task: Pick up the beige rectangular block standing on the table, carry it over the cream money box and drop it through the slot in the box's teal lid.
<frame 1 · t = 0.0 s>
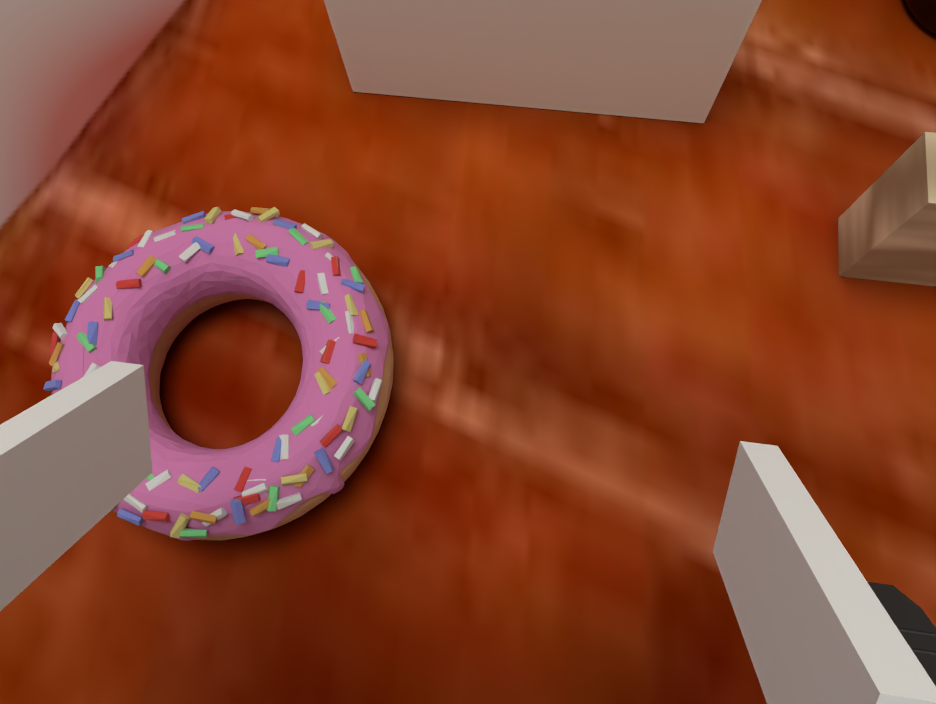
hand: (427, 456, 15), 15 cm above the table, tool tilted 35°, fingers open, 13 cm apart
money box: (536, 18, 37), on the table
beige rectangular block: (893, 252, 32), on the table
donut: (250, 384, 32), on the table
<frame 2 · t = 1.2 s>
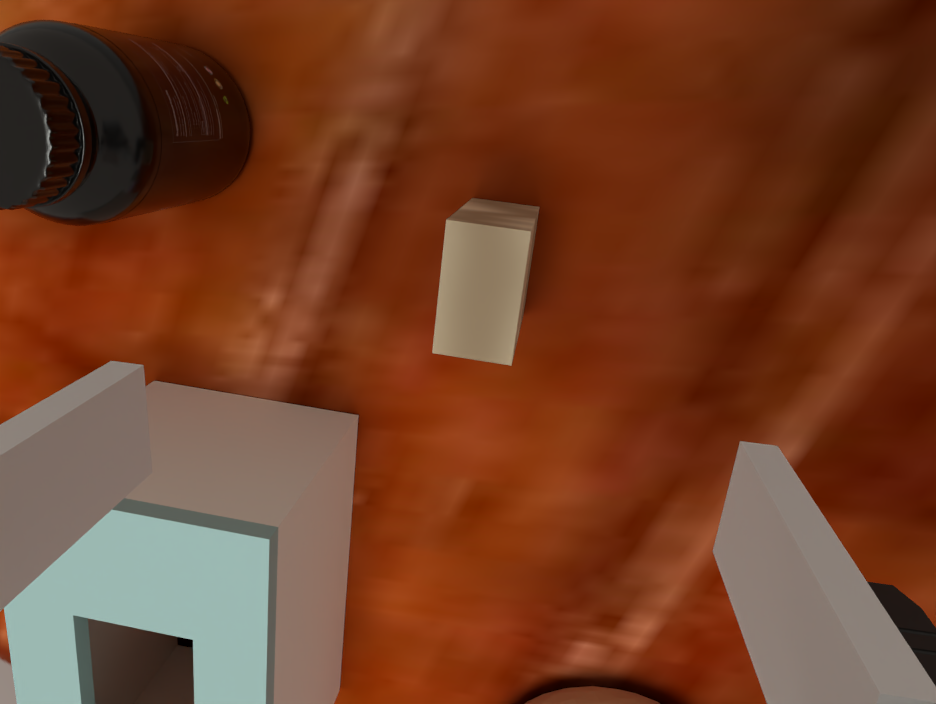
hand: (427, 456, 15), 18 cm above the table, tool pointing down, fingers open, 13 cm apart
money box: (253, 544, 39), on the table
beige rectangular block: (498, 257, 31), on the table
supplement bottle: (187, 125, 32), on the table
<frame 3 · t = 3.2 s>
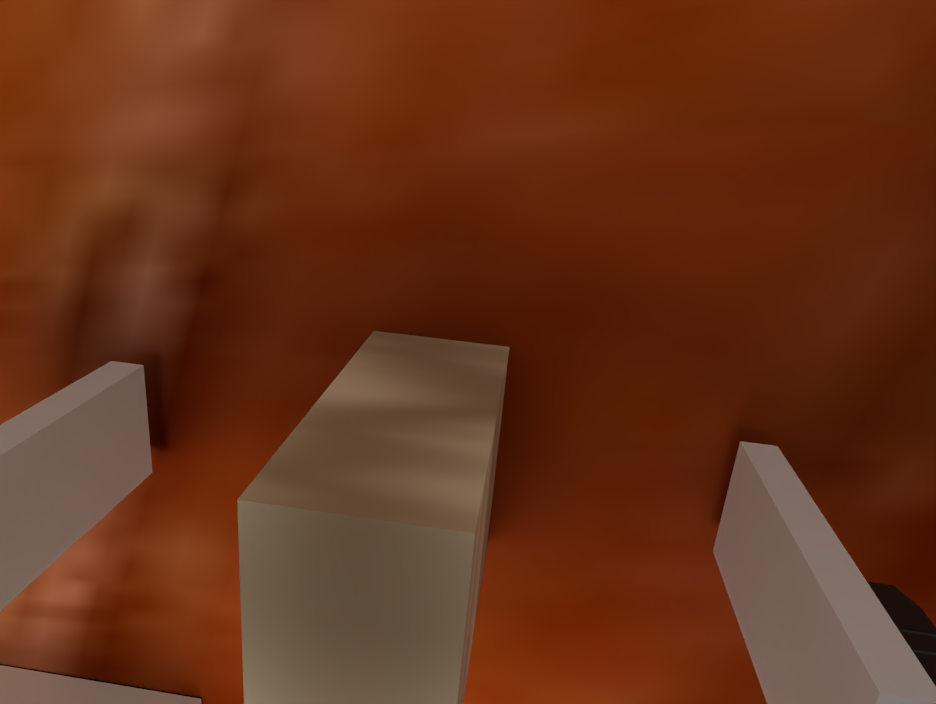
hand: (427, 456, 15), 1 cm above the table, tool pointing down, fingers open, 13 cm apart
beige rectangular block: (433, 440, 16), on the table
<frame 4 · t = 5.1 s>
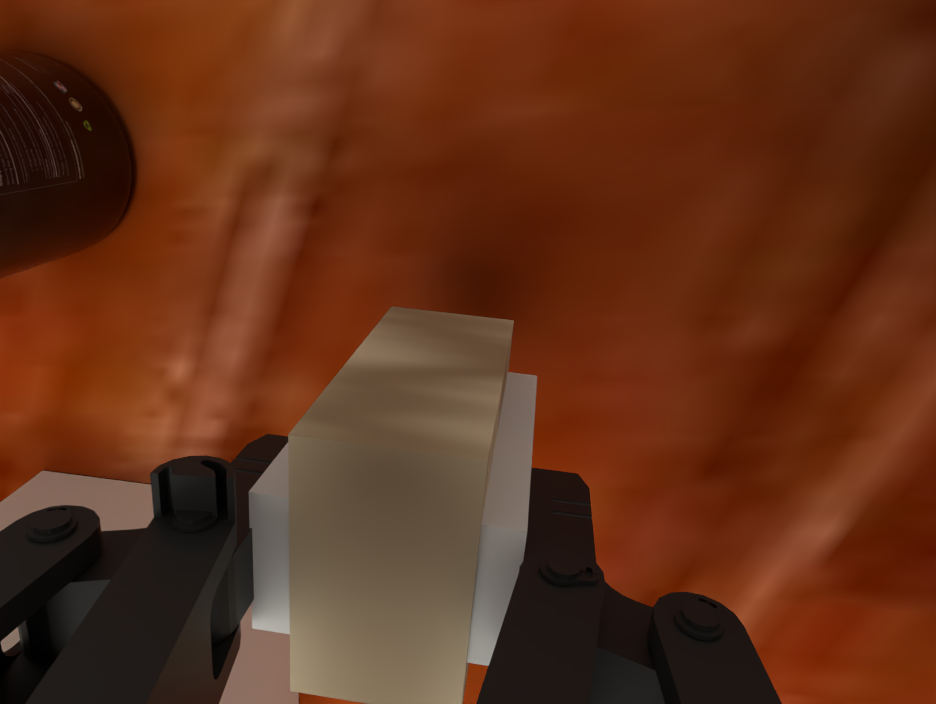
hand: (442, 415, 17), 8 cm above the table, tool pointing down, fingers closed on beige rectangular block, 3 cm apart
money box: (182, 655, 32), on the table
beige rectangular block: (444, 406, 18), point 8 cm above the table, touching gripper
supplement bottle: (52, 155, 25), on the table
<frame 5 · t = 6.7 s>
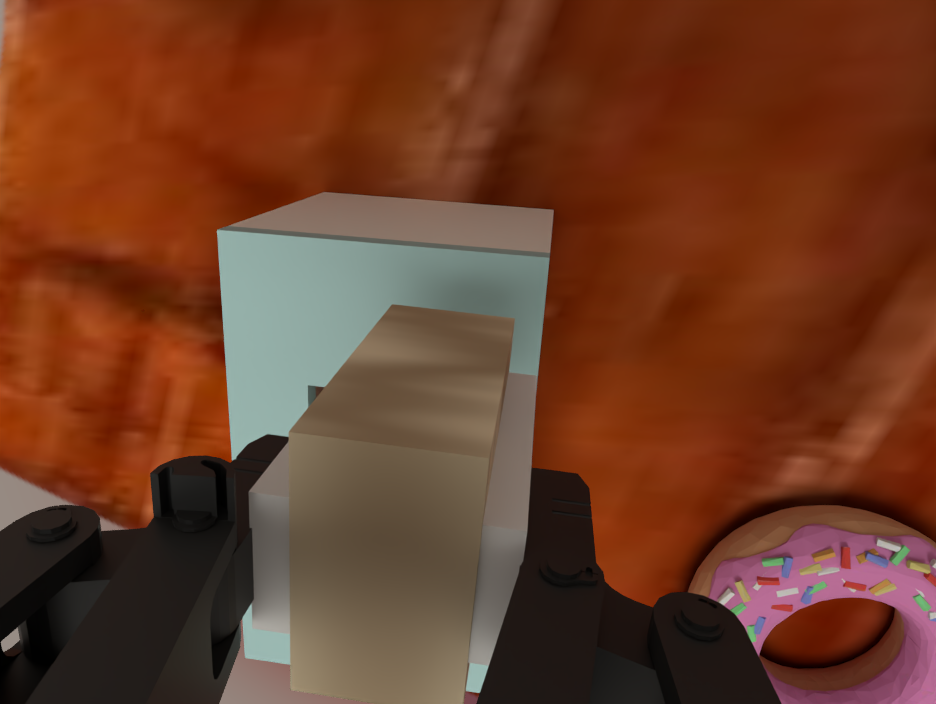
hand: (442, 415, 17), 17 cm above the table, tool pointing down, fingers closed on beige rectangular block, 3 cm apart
money box: (429, 377, 36), on the table
beige rectangular block: (445, 405, 18), point 17 cm above the table, touching gripper
donut: (811, 601, 38), on the table
when the fingers open (13 cm above the table, at t = 8.5 s): beige rectangular block drops 13 cm, resting in money box.
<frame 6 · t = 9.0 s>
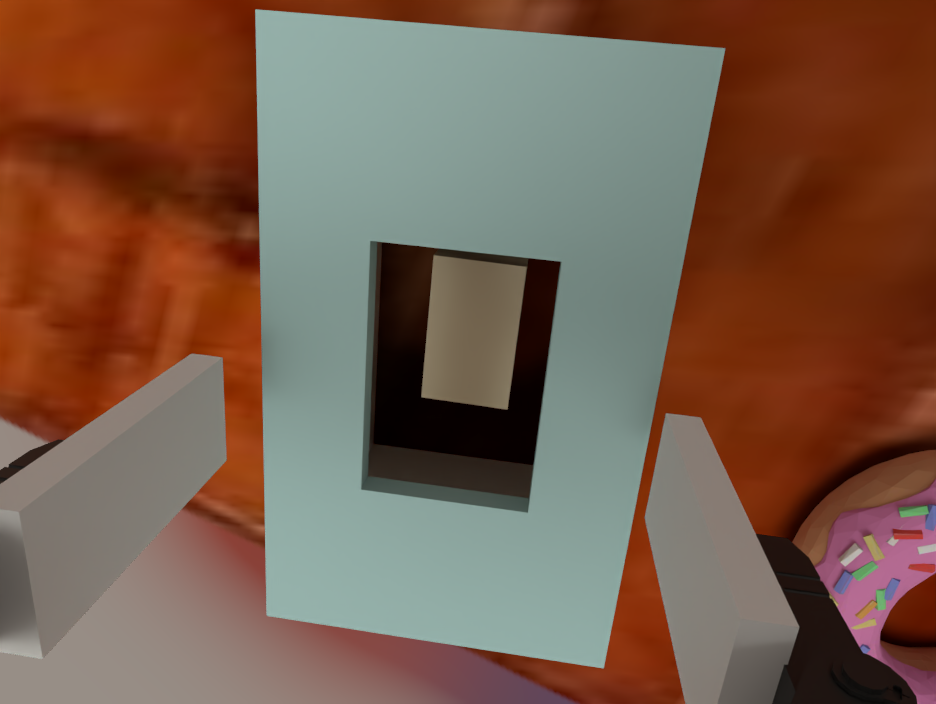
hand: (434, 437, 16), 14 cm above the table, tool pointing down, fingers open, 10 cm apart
money box: (488, 287, 29), on the table
beige rectangular block: (489, 284, 29), resting in money box
donut: (928, 567, 32), on the table
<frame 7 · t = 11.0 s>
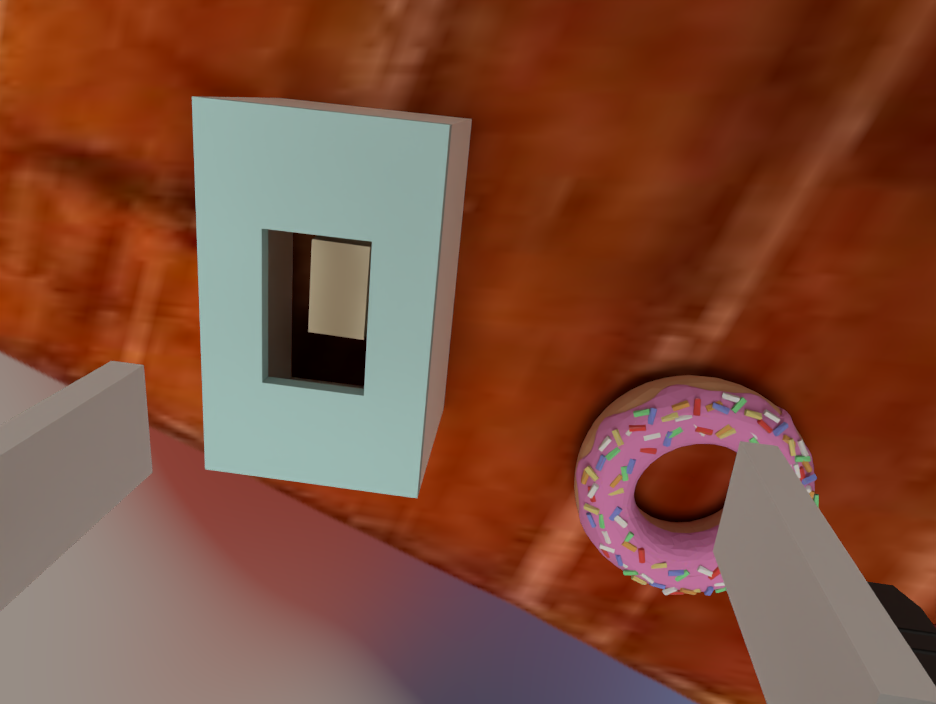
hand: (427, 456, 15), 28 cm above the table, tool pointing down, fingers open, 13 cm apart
money box: (367, 263, 42), on the table
beige rectangular block: (368, 261, 42), resting in money box
donut: (682, 463, 45), on the table
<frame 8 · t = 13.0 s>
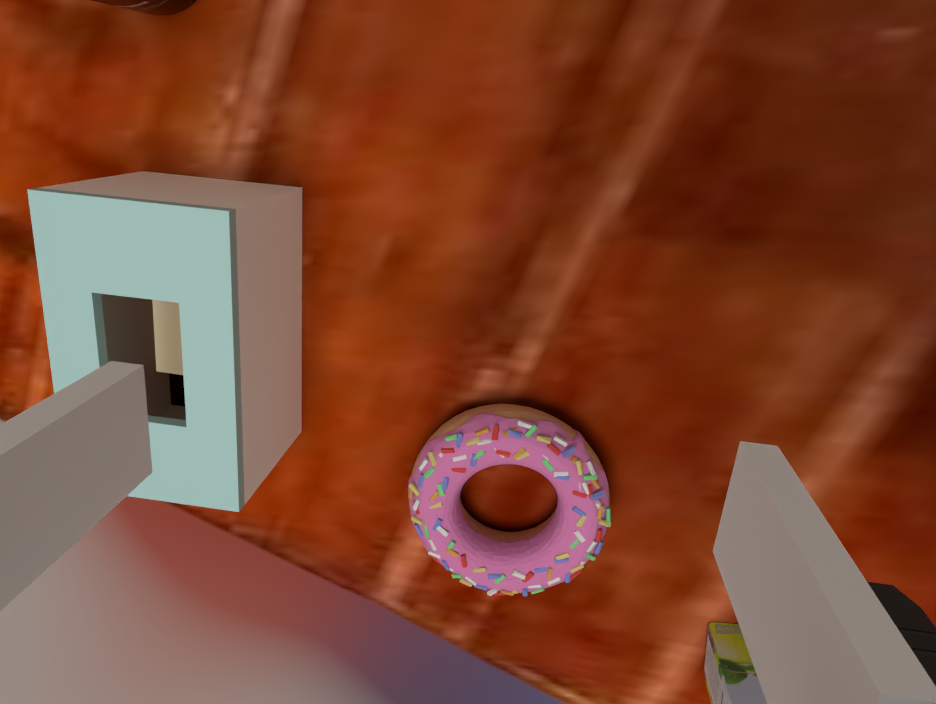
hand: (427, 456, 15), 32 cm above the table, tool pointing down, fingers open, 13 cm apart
money box: (227, 308, 49), on the table
beige rectangular block: (227, 306, 49), resting in money box
snack box: (844, 653, 53), on the table
donut: (511, 480, 52), on the table
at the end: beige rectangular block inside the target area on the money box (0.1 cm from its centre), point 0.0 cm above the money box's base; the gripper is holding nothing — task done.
